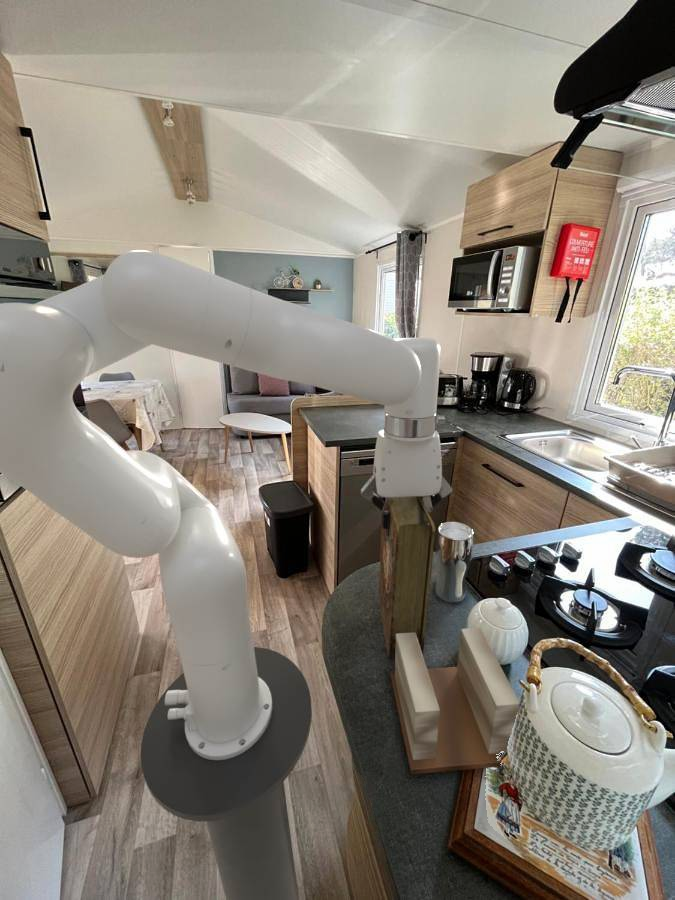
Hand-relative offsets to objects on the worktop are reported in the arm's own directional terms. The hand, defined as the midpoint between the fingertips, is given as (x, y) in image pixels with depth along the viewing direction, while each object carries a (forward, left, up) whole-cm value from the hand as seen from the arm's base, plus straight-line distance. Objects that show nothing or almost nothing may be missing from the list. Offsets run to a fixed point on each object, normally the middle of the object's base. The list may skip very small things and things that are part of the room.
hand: (404, 529), depth 63 cm
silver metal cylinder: (+12, +9, -22) cm, 27 cm away
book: (-1, 0, -20) cm, 20 cm away
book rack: (+3, -16, -22) cm, 27 cm away
